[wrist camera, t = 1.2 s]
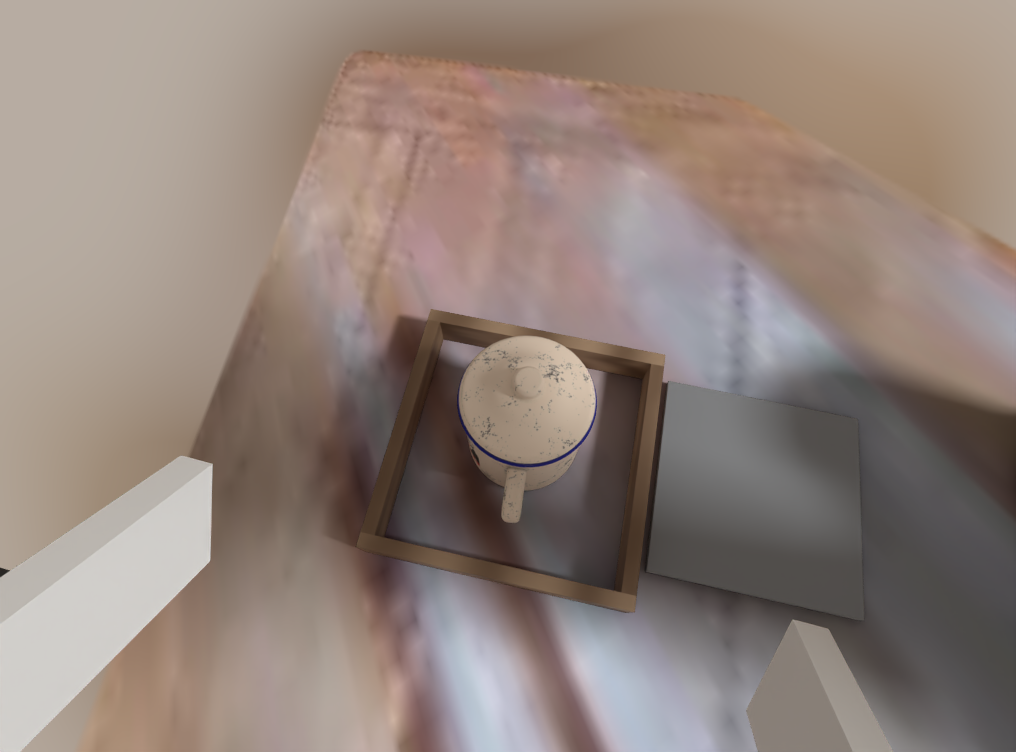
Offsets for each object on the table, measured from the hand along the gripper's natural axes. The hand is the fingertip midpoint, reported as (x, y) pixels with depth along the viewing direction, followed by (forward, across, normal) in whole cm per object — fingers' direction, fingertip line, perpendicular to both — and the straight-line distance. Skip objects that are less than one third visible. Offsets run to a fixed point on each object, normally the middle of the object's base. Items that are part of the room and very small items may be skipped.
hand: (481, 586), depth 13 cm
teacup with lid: (+29, 0, -12) cm, 31 cm away
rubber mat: (+29, +18, -10) cm, 36 cm away
